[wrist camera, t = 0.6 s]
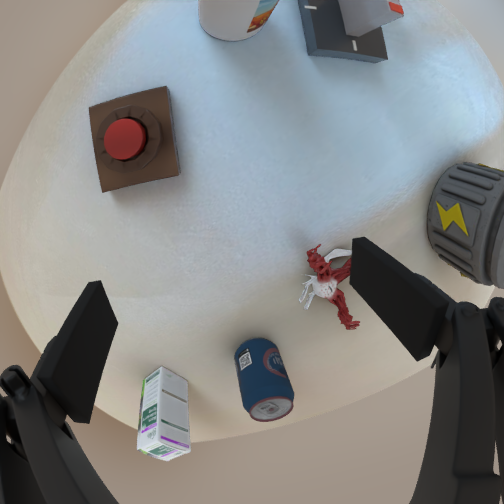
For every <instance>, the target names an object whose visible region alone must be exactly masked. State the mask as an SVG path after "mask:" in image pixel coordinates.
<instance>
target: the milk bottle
mask: <svg viewBox="0 0 504 504" xmlns="http://www.w3.org/2000/svg"><path fill="white" fill-rule="evenodd" d="M278 1H279V0H198V10H199V21H200V24H201V26H202V28H203V29H204V30H205V31H206V32H207V33H208V34H210V35H211V36H213V37H215V38H218V39H221V40H226V41H239V40H244V39H247V38H250V37H252V36H254V35H255V34H257V33H258V32H259V31H260V30H261V28H262V27H263V26H264V24H265V23H266V21H267V19H268V18H269V16H270V14H271V13H272V11H273V10H274V8H275V6H276V5H277V3H278Z"/></svg>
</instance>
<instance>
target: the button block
mask: <svg viewBox="0 0 504 504" xmlns="http://www.w3.org/2000/svg"><path fill="white" fill-rule="evenodd" d="M89 115H90V124H91V132H92V139H93V146H94V152H95V158H96V164H97V169H98V174H99V179H100V184H101V189H102V193H104V192H107V191H111V190H115V189H119V188H123V187H127V186H131V185H136V184H140V183H144V182H149V181H153V180H158V179H163V178H168V177H173V176H178V175H179V174H180V166H179V160H178V153H177V147H176V140H175V133H174V126H173V118H172V110H171V102H170V94H169V89H168V87H167V86H163V87H158V88H154V89H149V90H145V91H141V92H137V93H134V94H130V95H126V96H123V97H119V98H116V99H113V100H110V101H106V102H103V103H100V104H97V105H95V106H92V107H89ZM120 119H131V120H135V121H137V122H139V123H140V124H141V125H142V126H143V127H144V129H145V132H146V142H145V145H144V147H143V149H142V150H141V152H140V153H138V154H137V155H136V156H134V157H131V158H128V159H115V158H113V157H112V156H110V155H109V154H108V152H107V151H106V149H105V146H104V136H105V133H106V131H107V129H108V128H109V126H110V125H111V124H112V123H114V122H115V121H117V120H120Z"/></svg>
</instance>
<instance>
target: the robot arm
mask: <svg viewBox="0 0 504 504" xmlns="http://www.w3.org/2000/svg"><path fill="white" fill-rule="evenodd" d="M349 284H350V285H351V286H352V287H353V288H354V289H355V290H356V291H357V292H358V294H359V295H360V296H361V297H362V298H363V299H364V300H365V301H366V303H367V304H368V305H369V306H370V307H371V308H372V309H373V310H374V312H375V313H376V314H377V315H378V316H379V317H380V318H381V320H382V321H383V322H384V323H385V324H386V325H387V326H388V328H389V329H390V330H391V331H392V332H393V333H394V335H395V336H396V337H397V338H398V339H399V341H400V342H401V343H402V344H403V345H404V347H405V348H406V349H407V350H408V351H409V353H410V354H411V355H412V356H413V357H414V359H415V360H416V361H419V360H421V359H424V358H426V357H428V356H429V355H430V354H431V351H432V349H433V347H434V345H435V346H436V347H437V348H438V349H439V350H438V352H437V354H436V357H435V359H434V361H433V363H432V366H431V368H433V367H434V365H435V364H436V375H435V389H434V399H433V407H432V415H431V422H430V428H429V434H428V439H427V445H426V449H425V454H424V458H423V462H422V467H421V470H420V474H419V478H418V481H417V484H416V488H415V491H414V494H413V497H412V499H411V501H410V503H409V504H499V501H500V496H502V502H503V504H504V298H502V297H494V298H492V299H491V301H490V304H489V306H488V308H484V309H479V308H478V307H477V306H476V305H474V304H473V303H470V302H459V303H457V302H455V301H454V300H453V299H452V298H451V297H449V296H448V295H447V294H446V293H445V292H443V291H442V290H441V289H440V288H438V287H437V286H436V285H435V284H432V282H431V281H430V280H428V279H427V278H426V277H424V276H422V275H419V274H417V273H413V272H412V271H410V270H409V269H408V268H406V267H405V266H404V265H403V264H401V263H400V262H399V261H397V260H396V259H395V258H393V257H392V256H391V255H389V254H388V253H386V252H385V251H384V250H382V249H381V248H380V247H378V246H377V245H375V244H374V243H373V242H371V241H370V240H368V239H367V238H366V237H360V238H354V239H352V256H351V271H350V283H349ZM117 326H118V321H117V319H116V317H115V314H114V312H113V310H112V307H111V305H110V303H109V300H108V298H107V295H106V292H105V290H104V287H103V285H102V282H101V280H100V281H94V282H89V283H88V284H87V286H86V287H85V289H84V290H83V292H82V294H81V295H80V297H79V298H78V300H77V302H76V303H75V305H74V307H73V308H72V310H71V312H70V313H69V315H68V317H67V318H66V320H65V322H64V324H63V325H62V327H61V329H60V331H59V333H58V334H57V336H54V338H53V339H52V340H51V341H50V342H49V343H48V344H47V346H46V348H45V350H44V353H43V354H42V355H41V357H40V360H39V361H38V363H37V365H36V368H35V369H34V372H33V374H32V376H31V378H30V379H29V378H28V376H27V375H26V374H25V372H24V371H23V369H22V368H21V367H20V366H18V365H12V366H10V367H8V368H7V369H5V370H4V371H3V373H2V374H1V376H0V387H1V388H2V389H3V390H4V391H5V393H6V394H7V395H8V396H6V397H3V396H2V395H1V394H0V504H119V503H118V502H117V501H116V499H115V498H114V497H113V495H112V494H111V493H110V491H109V490H108V489H107V487H106V486H105V485H104V483H103V481H102V480H101V479H100V477H99V476H98V474H97V473H96V471H95V470H94V468H93V466H92V465H91V463H90V462H89V460H88V458H87V457H86V455H85V453H84V452H83V450H82V448H81V446H80V445H79V443H78V441H77V439H76V437H75V435H74V434H73V432H72V430H71V428H70V426H69V424H68V423H67V422H66V421H65V419H66V415H68V416H69V417H70V418H71V419H72V420H73V421H74V422H77V423H87V424H89V423H90V419H91V414H92V410H93V406H94V402H95V398H96V394H97V391H98V387H99V383H100V380H101V376H102V373H103V369H104V366H105V363H106V359H107V356H108V353H109V350H110V347H111V344H112V341H113V338H114V335H115V332H116V329H117ZM499 340H501V342H502V346H501V348H500V350H498V348H497V344H498V343H499ZM6 435H8V436H9V437H10V438H11V444H10V443H9V442H8V441H7V439H6ZM495 441H496V447H497V453H498V462H499V472H500V476H499V475H497V474H494V471H493V464H494V453H495Z"/></svg>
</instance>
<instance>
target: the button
mask: <svg viewBox="0 0 504 504" xmlns="http://www.w3.org/2000/svg"><path fill="white" fill-rule="evenodd" d="M145 142H146V132H145V129H144V127H143V126H142V125H141V124H140V123H139V122H137V121H135V120H131V119H120V120H117V121H115V122H114V123H112V124H111V125H110V126H109V128H108V129H107V131H106V133H105V136H104V146H105V149H106V151H107V152H108V154H109V155H110V156H112V157H113V158H115V159H128V158H131V157H134V156H136V155H137V154H138V153H140V152H141V150H142V149H143V147H144V145H145Z"/></svg>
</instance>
